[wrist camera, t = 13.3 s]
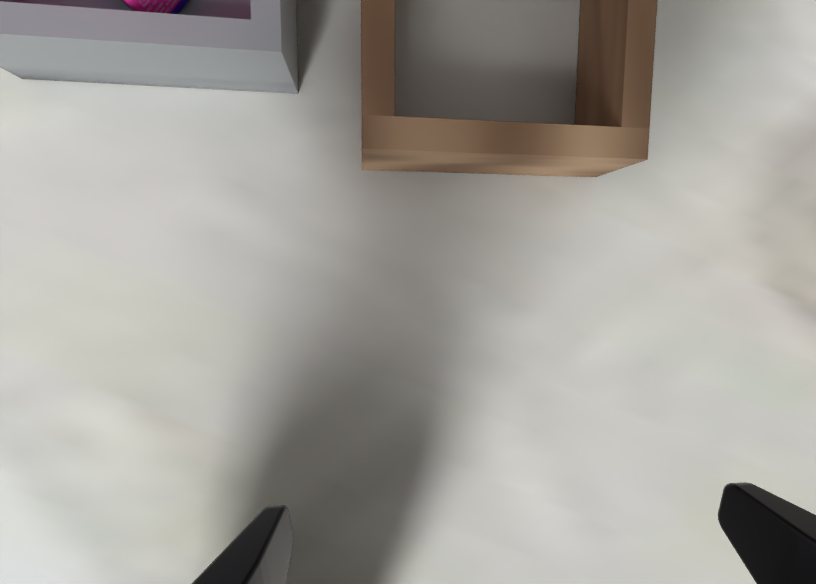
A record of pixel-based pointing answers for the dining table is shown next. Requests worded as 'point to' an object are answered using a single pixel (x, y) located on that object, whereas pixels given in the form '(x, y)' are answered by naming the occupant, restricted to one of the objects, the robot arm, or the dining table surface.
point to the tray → (153, 43)
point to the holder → (519, 141)
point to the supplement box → (156, 5)
